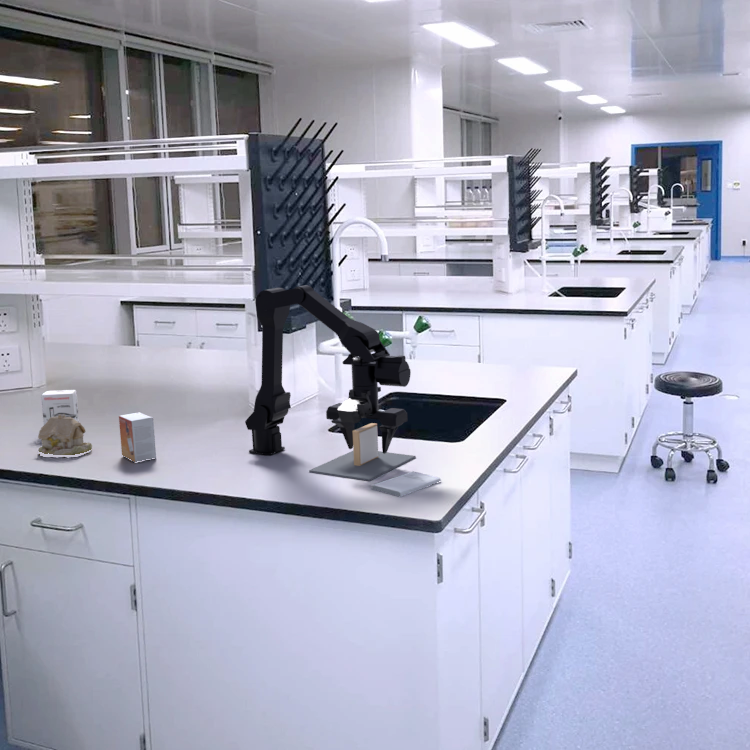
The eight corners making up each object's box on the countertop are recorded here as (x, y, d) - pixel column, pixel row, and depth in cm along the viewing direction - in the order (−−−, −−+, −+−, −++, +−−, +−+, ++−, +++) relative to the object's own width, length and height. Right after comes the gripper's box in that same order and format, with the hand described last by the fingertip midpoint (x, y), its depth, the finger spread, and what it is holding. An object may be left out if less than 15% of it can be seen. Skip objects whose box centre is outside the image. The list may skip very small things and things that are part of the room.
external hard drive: (371, 491, 186) (412, 477, 195) (400, 499, 180) (440, 484, 189) (371, 484, 186) (412, 470, 194) (400, 491, 180) (440, 477, 189)
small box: (121, 457, 218) (117, 415, 216) (143, 453, 222) (139, 411, 220) (134, 464, 212) (130, 420, 210) (157, 459, 215) (153, 416, 213)
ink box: (44, 437, 242) (39, 394, 240) (48, 432, 247) (44, 390, 245) (76, 435, 243) (72, 392, 240) (80, 430, 247) (76, 389, 245)
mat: (309, 472, 200) (309, 470, 200) (357, 450, 216) (357, 448, 216) (369, 481, 191) (369, 479, 191) (415, 457, 208) (415, 455, 208)
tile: (354, 465, 202) (352, 430, 201) (372, 456, 209) (371, 423, 207) (360, 466, 201) (359, 431, 200) (379, 457, 208) (378, 423, 206)
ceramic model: (27, 456, 223) (23, 417, 221) (58, 445, 233) (54, 407, 231) (73, 460, 218) (69, 420, 216) (103, 448, 228) (99, 410, 226)
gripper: (310, 387, 200) (313, 455, 203) (381, 394, 191) (384, 464, 193) (338, 378, 210) (341, 443, 212) (407, 384, 200) (409, 452, 203)
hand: (367, 450), depth 205 cm, fingers open, 9 cm apart
